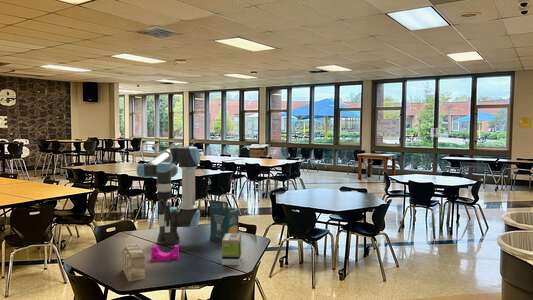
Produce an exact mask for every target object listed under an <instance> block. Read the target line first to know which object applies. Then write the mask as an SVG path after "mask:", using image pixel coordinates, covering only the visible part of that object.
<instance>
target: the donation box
mask: <svg viewBox="0 0 533 300" xmlns="http://www.w3.org/2000/svg"><path fill="white" fill-rule="evenodd" d="M209 214H210V216H209V217H210V222H209V223H210V229H209V230H210V236H209V240H210V241H214V242H220V243H222V239H223V237H224V235H225V233H239V214H240V210H239V208H238V207H231V206H229V203H228V202H227V201H223V200H216V199H210V201H209Z"/></svg>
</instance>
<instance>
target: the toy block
mask: <svg viewBox="0 0 533 300" xmlns="http://www.w3.org/2000/svg"><path fill="white" fill-rule="evenodd" d="M158 245H159V244H157V245H152V246H151V253H150V258H151V259H150V261H151V262H164V261H165V262H166V261H170V260H179V258H180V252H179V250H180V245H179V244H174V247H173V249H172V250H171V251H169V252H164V251H161V249H160V248H159V246H158Z"/></svg>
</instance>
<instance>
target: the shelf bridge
mask: <svg viewBox="0 0 533 300" xmlns="http://www.w3.org/2000/svg"><path fill="white" fill-rule="evenodd" d="M145 257H146V256H145V254H144V252H143V250H142V249H141V247H140V246H139V244H138V243H134V244H133V243H131V244H126V245H125V247H122V271H124V272H123V274H124V273H125V274H124V275H126V276H125V277H126V280H127V281H128V282H132V281H139V280H145V279H146V276H145V274H146V269H145V268H146V259H145Z"/></svg>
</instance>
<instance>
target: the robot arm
mask: <svg viewBox="0 0 533 300" xmlns="http://www.w3.org/2000/svg"><path fill="white" fill-rule="evenodd" d="M200 163H201V154H200V151H199V149H198V147H196V146H192V145H190V146H177V145H176V146H175V145H174V146H170V147H167V148H165V149H163V150H161V151H160V152H159V153H158V155H157V156H155V157H154V158H153V159H151V160H149V161H148V162H147V163H139V164H137V166H136V174H137V176H138V177H140V178H156V185H155V187H156V190H157V192H156V198H157V199H158V208H157V209H158V210H157V213H158V226H159V232H158V236H157V238H156V244H157V245H159V246H171V245H174V246H175V245H178V244H179V243H180V242H181V238H180V235H179V232H178V228H191V229H192V228H196V227H198V225H199V222H200V219H201V211H200V210H199V209H198V206H197V205H196V169H197V168H198V165H200ZM177 165H179V168H180V169H181V206H179V209H178V207H177V206H170V205H171V204H170V201H168V200H169V199H171V198H172V178H173V177H175V176H176V175H177V174H178V172H179V168H178V166H177Z"/></svg>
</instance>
